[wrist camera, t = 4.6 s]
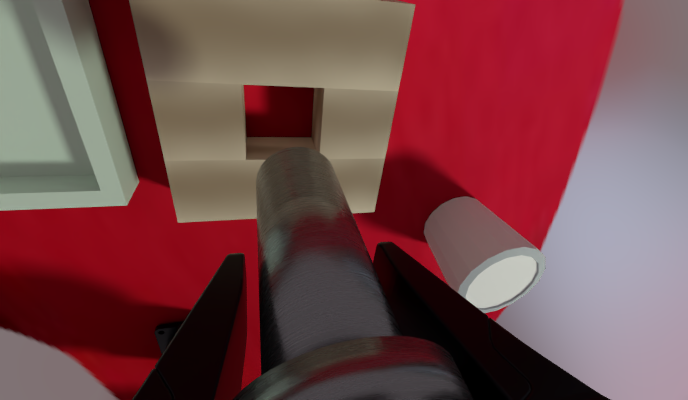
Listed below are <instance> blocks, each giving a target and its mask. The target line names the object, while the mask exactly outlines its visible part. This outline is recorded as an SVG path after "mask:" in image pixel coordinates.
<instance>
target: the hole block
mask: <svg viewBox="0 0 688 400" xmlns="http://www.w3.org/2000/svg"><path fill="white" fill-rule="evenodd" d="M129 3H130V7H131V12H132V16H133V21H134V26H135V30H136V35H137V39H138V44H139V48H140V53H141V57H142V62H143V66H144V71H145V75H146V80H147V84H148V89H149V93H150V98H151V103H152V107H153V112H154V116H155V121H156V125H157V130H158V134H159V139H160V143H161V148H162V152H163V157H164V161H165V166H166V170H167V175H168V180H169V184H170V189H171V193H172V198H173V202H174V207H175V211H176V216H177V220H178V223H179V222H198V221H217V220H235V219H254V218H257V202H256V177H257V173H258V171H259V169H260V167H261V165H262V164H263V162H264V161H265V160H266V159H267V158H268V157H270V156H271V155H272V154H274V153H276V152H278V151H280V150H282V149H286V148H290V147H306V148H310V149H313V150H316V151H318V152H320V153H321V154H323V155H324V156H325V157H326V158H327V159H328V160H329V161H330V163H331V164H332V166H333V168H334V171H335V173H336V176H337V178H338V180H339V183H340V185H341V188H342V190H343V193H344V195H345V197H346V200H347V202H348V205H349V207H350V209H351V212H352V213H366V212H375V206H376V201H377V196H378V191H379V186H380V181H381V176H382V171H383V166H384V161H385V156H386V151H387V146H388V141H389V136H390V131H391V125H392V120H393V115H394V110H395V105H396V100H397V95H398V90H399V85H400V80H401V75H402V70H403V65H404V60H405V55H406V49H407V44H408V39H409V34H410V29H411V24H412V19H413V14H414V9H415V4H411V3H406V2H402V1H398V0H129ZM243 85H266V86H289V87H311V88H314V100H313V118H312V136H311V137H247V136H246V120H245V104H244V87H243Z"/></svg>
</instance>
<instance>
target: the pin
mask: <svg viewBox="0 0 688 400" xmlns="http://www.w3.org/2000/svg"><path fill="white" fill-rule="evenodd" d="M256 202H257V237H258V272H259V307H260V342H261V376H260V377H258V378H257V379H255V380H254V381H253V382H251V383H250V384H249V385H247V386H246V387H245V388H244V389H243V390H242V391H241V392H240V393H239V394H238V395H237V396H235V397H234V399H233V400H474V398H473V396H472V394H471V393H470V391H469V389H468V387H467V385H466V383H465V381H464V379H463V377H462V375H461V373H460V371H459V369H458V367H457V365H456V364H455V362H454V360H453V358H452V356H451V355H450V353H449V352H448V351H447V350H445V349H444V348H443V347H442V346H440V345H438V344H436V343H434V342H431V341H428V340H425V339H421V338H415V337H408V336H402V333H401V331H400V328H399V326H398V323H397V321H396V319H395V316H394V314H393V311H392V309H391V306H390V304H389V302H388V299H387V297H386V294H385V292H384V290H383V287H382V285H381V282H380V280H379V277H378V275H377V273H376V270H375V268H374V265H373V263H372V260H371V258H370V256H369V253H368V251H367V248H366V246H365V243H364V241H363V239H362V236H361V234H360V231H359V229H358V226H357V224H356V222H355V219H354V217H353V214H352V212H351V209H350V207H349V205H348V202H347V200H346V197H345V195H344V193H343V190H342V188H341V185H340V183H339V180H338V178H337V176H336V173H335V171H334V168H333V166H332V164H331V163H330V161H329V160H328V159H327V158H326V157H325V156H324V155H323V154H321V153H320V152H318V151H316V150H313V149H310V148H306V147H290V148H286V149H282V150H280V151H278V152H276V153H274V154H272V155H271V156H270V157H268V158H267V159H266V160H265V161H264V162H263V164H262V165H261V167H260V169H259V171H258V173H257V177H256Z"/></svg>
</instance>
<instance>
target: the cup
mask: <svg viewBox="0 0 688 400" xmlns="http://www.w3.org/2000/svg"><path fill="white" fill-rule="evenodd" d="M424 235H425V238H426V241H427V243H428V245H429V247H430V249H431V251H432V253H433V255H434V257H435V259H436V261H437V263H438V265H439V267H440V269H441V271H442V273H443V275H444V277H445V279H446V281H447V283H448V285H449V286H450V287H451V288H452V289H454V290H455V291H456V292H457V293H459V294H460V295H461V296H463V297H464V298H465V299H466V300H468V301H469V302H470V303H472V304H473V305H474V306H476V307H477V308H478V309H479V310H481V311H482V312H483V313H487V312H492V311H496V310H499V309H501V308H503V307H505V306H508V305H510V304H512V303H514V302H515V301H517V300H518V299H520V298H521V297H522V296H524V295H525V294H527V293H528V292H529V291H530V290H531V289H532V288H533V287H534V285H535V284H536V283H537V282H538V281H539V280H540V278H541V276H542V274H543V272H544V270H545V256H544V255H543V254H542V253H541V252H540V251H539V250H538V249H537V248H536V247H535V246H533V245H532V244H531V243H530V242H528V241H527V240H526V239H525V238H524V237H522V236H521V235H520V234H519V233H517V232H516V231H515V230H514V229H512V228H511V227H510V226H509V225H508V224H506V223H505V222H504V221H503V220H501V219H500V218H499V217H498V216H496V215H495V214H494V213H493V212H492V211H490V210H489V209H488V208H487V207H485V206H484V205H483V204H482V203H480V202H479V201H478V200H477V199H475V198H471V197H467V196H465V197H458V198H453V199H451V200H449V201H447V202H445V203H443V204H441V205H440V206H439V207H438V208H437V209H435V210H434V211H433V212H432V213H431V215H430V216H429V218H428V219H427V221H426V223H425V228H424Z"/></svg>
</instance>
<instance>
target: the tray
mask: <svg viewBox="0 0 688 400" xmlns="http://www.w3.org/2000/svg"><path fill="white" fill-rule="evenodd" d="M138 183H139V180H138V176H137V173H136V169H135V165H134V162H133V158H132V155H131V151H130V148H129V144H128V140H127V137H126V133H125V130H124V126H123V123H122V119H121V115H120V112H119V108H118V105H117V101H116V98H115V94H114V90H113V87H112V83H111V80H110V76H109V73H108V69H107V65H106V62H105V58H104V55H103V51H102V48H101V44H100V40H99V37H98V33H97V30H96V26H95V23H94V19H93V15H92V12H91V8H90V5H89V1H88V0H0V211H1V210H26V209H50V208H75V207H100V206H125V205H128V203H129V201H130V199H131V197H132V195H133V193H134V191H135V189H136V187H137V185H138Z"/></svg>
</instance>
